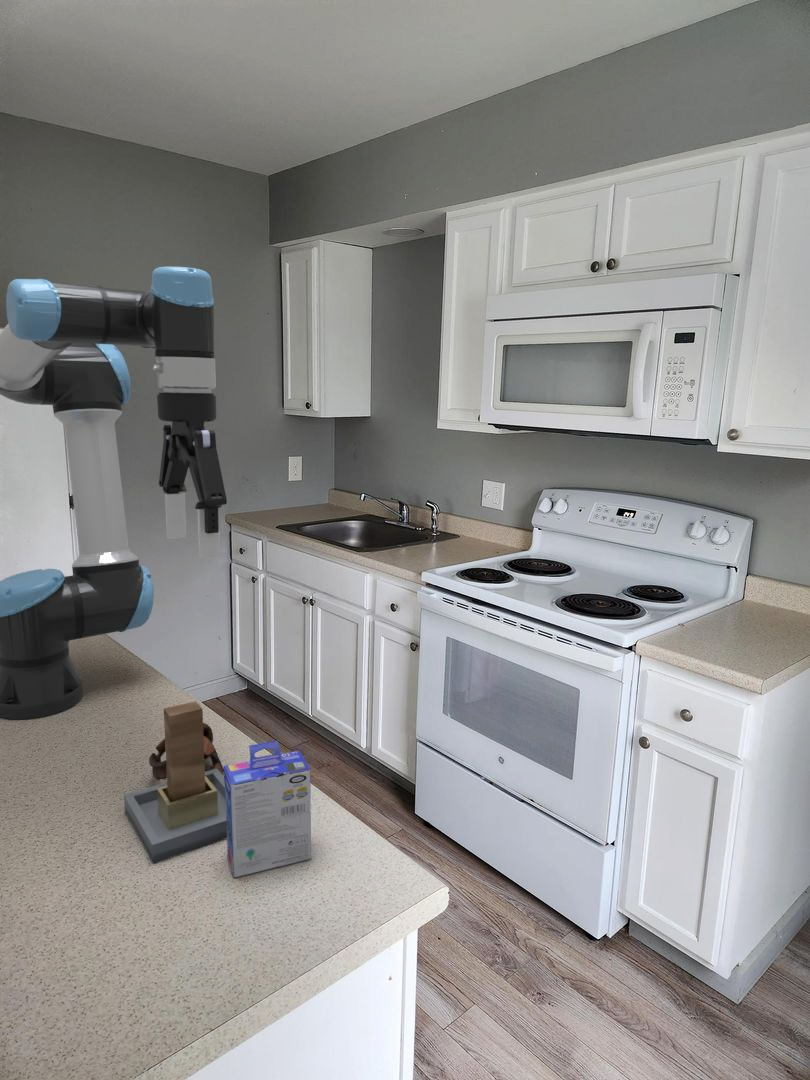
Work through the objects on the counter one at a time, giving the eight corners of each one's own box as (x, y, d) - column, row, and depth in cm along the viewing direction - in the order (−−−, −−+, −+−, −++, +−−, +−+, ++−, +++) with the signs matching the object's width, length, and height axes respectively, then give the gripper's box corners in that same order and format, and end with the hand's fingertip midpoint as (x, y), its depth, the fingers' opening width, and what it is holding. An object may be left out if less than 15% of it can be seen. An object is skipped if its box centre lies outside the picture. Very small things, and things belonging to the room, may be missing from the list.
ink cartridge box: (301, 834, 95) (300, 731, 92) (314, 859, 90) (313, 752, 87) (224, 852, 91) (221, 745, 88) (233, 879, 86) (230, 767, 83)
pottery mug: (219, 798, 104) (187, 758, 100) (165, 817, 106) (131, 778, 103) (240, 739, 114) (211, 701, 111) (190, 757, 117) (161, 721, 113)
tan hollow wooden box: (157, 812, 97) (156, 788, 96) (205, 797, 101) (204, 774, 100) (169, 830, 93) (168, 805, 93) (218, 814, 97) (217, 790, 96)
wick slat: (168, 813, 97) (163, 708, 94) (199, 803, 99) (195, 701, 96) (174, 823, 95) (169, 716, 92) (206, 813, 97) (202, 708, 94)
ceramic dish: (124, 811, 99) (123, 795, 98) (217, 784, 106) (216, 768, 106) (153, 863, 88) (152, 845, 88) (253, 828, 96) (253, 811, 95)
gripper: (132, 388, 105) (139, 533, 109) (190, 392, 85) (196, 569, 89) (183, 389, 109) (189, 528, 114) (250, 393, 89) (254, 562, 94)
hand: (192, 546), depth 102 cm, fingers open, 13 cm apart
